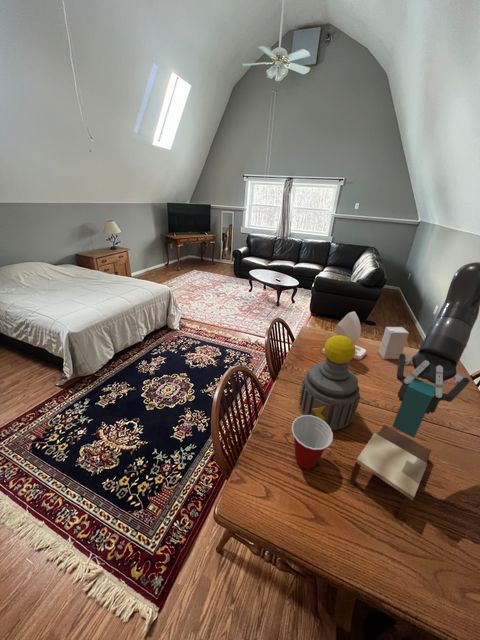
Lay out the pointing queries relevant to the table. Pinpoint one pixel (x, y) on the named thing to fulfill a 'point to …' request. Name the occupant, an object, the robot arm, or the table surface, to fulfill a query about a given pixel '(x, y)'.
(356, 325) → the jewelry stand
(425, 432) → the table surface
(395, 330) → the cosmetic box
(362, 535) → the table surface
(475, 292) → the robot arm
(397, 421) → the teal rectangular block
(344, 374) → the decorative lamp
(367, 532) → the table surface
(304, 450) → the plastic cup
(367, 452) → the cream miniature table
